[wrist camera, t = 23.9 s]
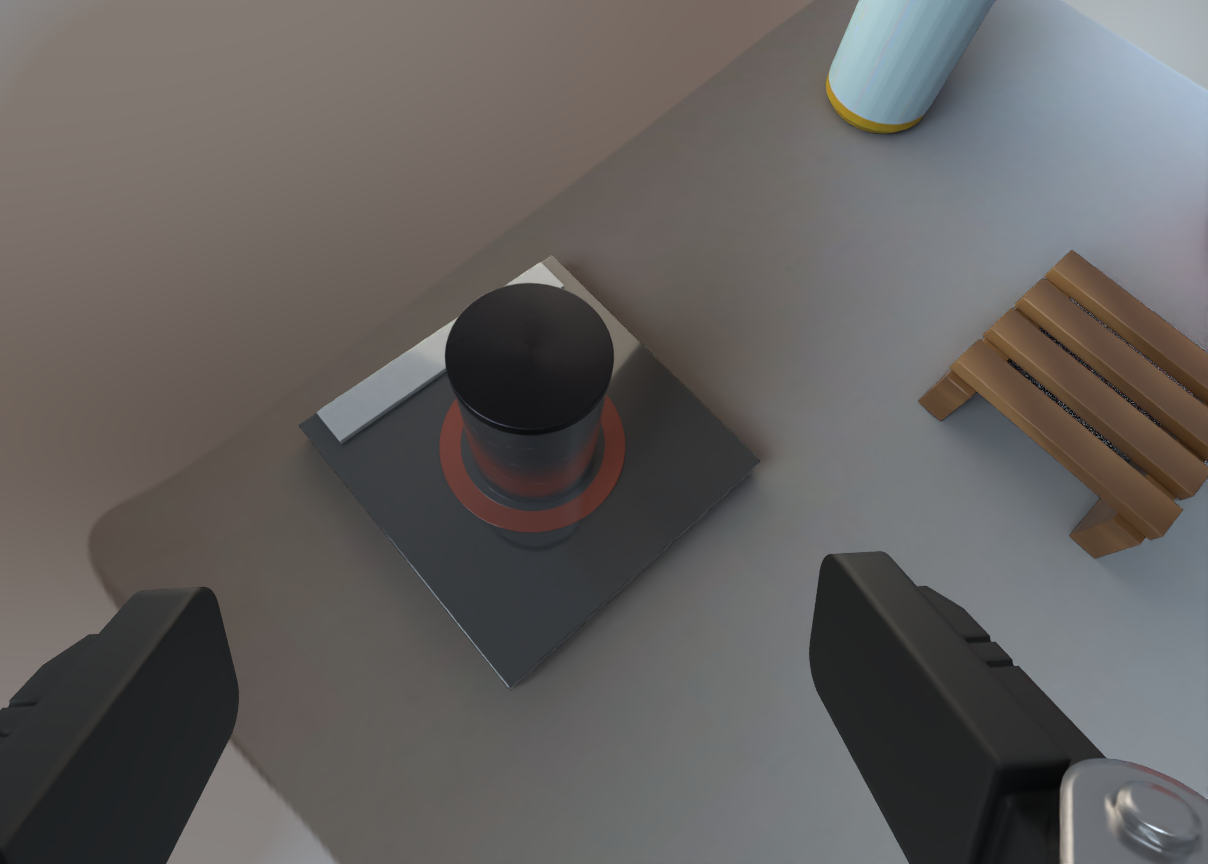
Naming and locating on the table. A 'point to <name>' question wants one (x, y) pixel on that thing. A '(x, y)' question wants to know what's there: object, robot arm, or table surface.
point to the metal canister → (530, 387)
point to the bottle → (899, 59)
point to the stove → (528, 530)
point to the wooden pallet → (1096, 398)
